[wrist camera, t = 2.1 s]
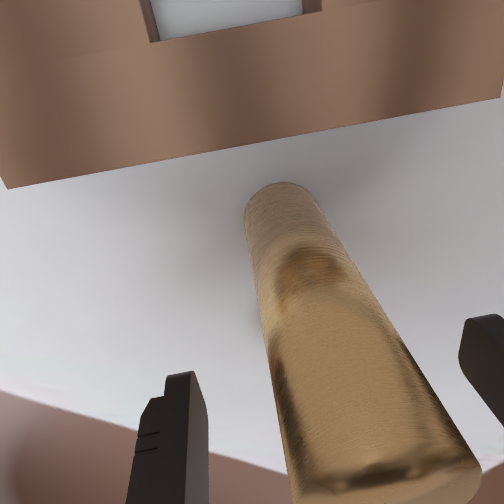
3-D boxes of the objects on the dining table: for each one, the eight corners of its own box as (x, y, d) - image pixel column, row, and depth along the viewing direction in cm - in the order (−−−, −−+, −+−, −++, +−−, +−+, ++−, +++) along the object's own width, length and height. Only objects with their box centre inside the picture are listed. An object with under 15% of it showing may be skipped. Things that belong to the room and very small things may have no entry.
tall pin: (314, 176, 19) (499, 426, 7) (319, 243, 21) (467, 525, 9) (237, 190, 19) (284, 465, 7) (250, 256, 21) (303, 556, 9)
